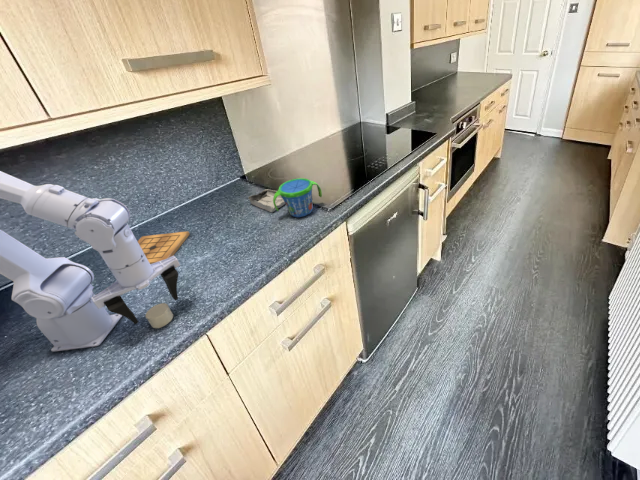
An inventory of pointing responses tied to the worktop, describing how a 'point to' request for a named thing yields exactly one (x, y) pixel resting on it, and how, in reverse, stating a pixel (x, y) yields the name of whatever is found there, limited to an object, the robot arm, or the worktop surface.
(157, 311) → the cream cylinder puck
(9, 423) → the worktop surface
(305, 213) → the snack cup
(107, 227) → the robot arm
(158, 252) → the board
